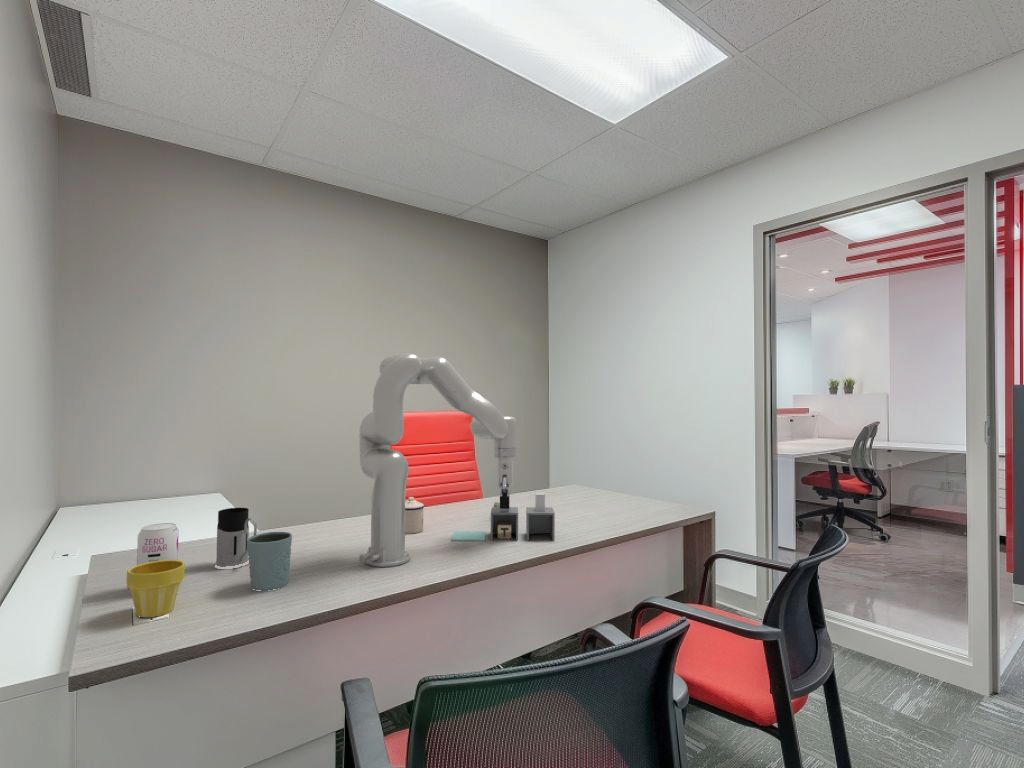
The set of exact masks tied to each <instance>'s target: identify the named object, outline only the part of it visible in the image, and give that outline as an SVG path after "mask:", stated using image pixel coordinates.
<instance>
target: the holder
mask: <svg viewBox="0 0 1024 768" xmlns="http://www.w3.org/2000/svg"><path fill="white" fill-rule="evenodd" d="M249 511H250V509H249V508H247V507H230V508H224V509H220V510H218V512H217V514H218V515H217V528H216V530H217V531H216V559H215V564H216V565H217V566H220V567H226V566H235V565H239V564H243V563H245V562H247V561H248V560H249V556H248V547H247V539H248V538H249V537H250V526H249V522H250V521H252V523H253V535H252V536H254V535H258V533H257V531H258V524H257V521H256V519H255V518H253V517H249Z"/></svg>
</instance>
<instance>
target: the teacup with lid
mask: <svg viewBox="0 0 1024 768" xmlns="http://www.w3.org/2000/svg"><path fill="white" fill-rule="evenodd" d="M424 505H425V504H424V503H422V502H419V501H417V500H416V499H415V497H414V496H409V497H408V498H407V500H405V535H410V534H411V535H414V534H417V533H418V534H419V533H421V532H423V531H424V508H425V506H424Z"/></svg>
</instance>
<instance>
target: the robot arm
mask: <svg viewBox="0 0 1024 768" xmlns="http://www.w3.org/2000/svg"><path fill="white" fill-rule="evenodd" d="M378 368H379V374H380V375H379V377H378V379H377V380H376V382H375V385H374V388H373V394H372V395H373V396H372V397H373V398H372V412H369V413H368V414H367V415H365V416H364V417H363V419H362V421H361V422H360V426H359V463H360V464H359V465H360V470H361V471H362V473H363V474H364V475H365V476H366V477H367V478H369V479H371V480H374V481H373V485H372V490H371V491H372V492H371V496H370V497H371V499H370V500H371V501H370V502H371V503H370V504H371V506H370V507H371V508H370V511H371V512H370V513H371V515H370V516H371V518H370V546H369V547H368V551H367V552H365V553H363V554H360V555H359V556H358V559H359V561H360V563H364V562H365V563H366V564H367V565H369V566H372V567H377V568H378V567H382V568H383V567H385V568H386V567H388V568H389V567H394V566H395V567H396V566H400V565H403V564H406V563H407V562H409V561H410V559H411V553H410V552H407V551H406V534H405V501H406V491H407V490H406V489H407V481H408V476H409V463H408V460H407V458H406V457H405V455H404V454H402V452H400V451H397V450H395V449H391V446H392V445H396V444H398V443H399V442H400V441H401V439H402V438H403V436H404V428H405V427H404V396H405V392H406V390H407V388H408V387H409V385H432V386H433V387H434V388H435V390H436V391H437V392H438V393H439V394H440V395H441V396H442V398H443V399H444V400H445V401H446V402H447V403H448V405H450V406H451V407H452V408H454V409H455V410H457V411H459V412H462V413H464V414H466V415H469V416H470V417H472V418H473V420H471V422H470V425H469V426H470V427H469V428H470V432H471V434H472V435H473V436H474V437H476V438H478V439H485V440H492V441H493V458H495V459H497V483H498V487H499V488H500V493H501V496H500V495H499V503H500V509H509V507H510V488H511V489H512V488H513V487H514V459H515V458H517V419H516V417H514V416H507V415H506V416H505V415H503V414H502V413H501V411H499V409H498V408H497V407H496V406H495V405H494V404H493V402H491V401H489V400H488V399H486V397H484V396H482V395H481V394H480V393H479V392H477V391H475V390H474V389H472V388H471V386H470V385H469V384H468V383H467V382H466V381H465V380H464V378H463V376H461V375H460V373H459V372H458V371H457V370H456V369H455V367H454V366H453V364H451V362H450V361H449V360H448V359H446V358H445V357H441V356H432V357H425V358H423V357H419V356H418V355H416V354H413V353H411V352H409V353H405V352H404V353H399V354H393V355H388V356H386V357H384V358H383V359H382V361H381V362H380V365H379V367H378Z"/></svg>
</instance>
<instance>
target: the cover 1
mask: <svg viewBox="0 0 1024 768" xmlns="http://www.w3.org/2000/svg"><path fill="white" fill-rule="evenodd" d="M500 496H501V492H500V494H499V497H500ZM498 522H511V533H516V534H515V541H516V540H518V541H519V508H518V506H509V509H500V507H494V506H491V510H490V541H493V540H494V534H493V533H498Z"/></svg>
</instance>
